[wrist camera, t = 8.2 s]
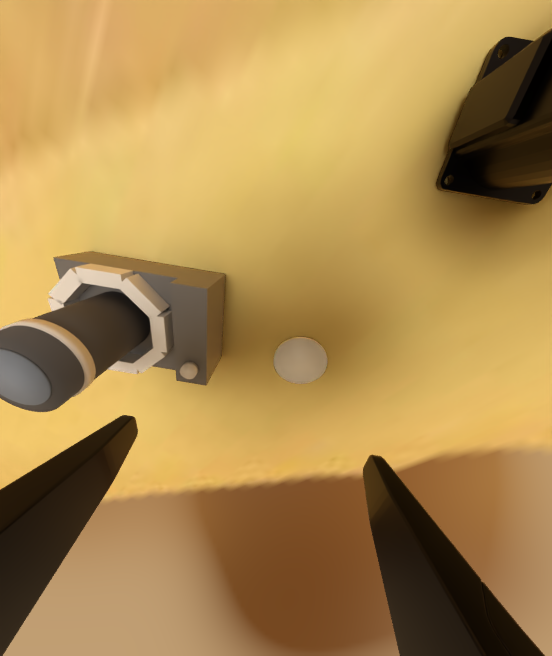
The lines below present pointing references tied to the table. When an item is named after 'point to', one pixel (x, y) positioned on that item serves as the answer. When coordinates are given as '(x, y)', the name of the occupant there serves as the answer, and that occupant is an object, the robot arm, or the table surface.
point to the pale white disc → (300, 360)
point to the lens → (67, 349)
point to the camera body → (154, 309)
